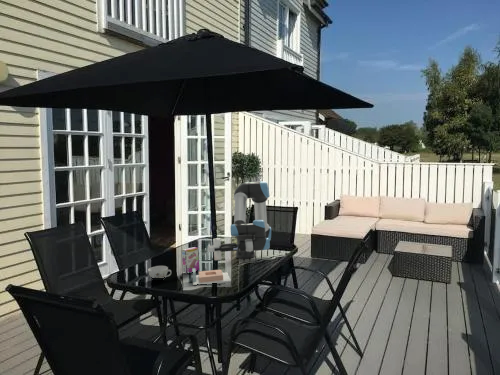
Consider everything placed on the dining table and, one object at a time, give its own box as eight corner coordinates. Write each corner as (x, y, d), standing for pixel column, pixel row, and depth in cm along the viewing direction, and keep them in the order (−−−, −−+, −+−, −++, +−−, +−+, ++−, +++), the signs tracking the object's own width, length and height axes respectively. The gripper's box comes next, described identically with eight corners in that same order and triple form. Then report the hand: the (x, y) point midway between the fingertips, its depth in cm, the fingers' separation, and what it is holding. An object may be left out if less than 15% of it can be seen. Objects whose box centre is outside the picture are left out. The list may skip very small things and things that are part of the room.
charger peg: (214, 258, 270) (212, 238, 269) (221, 258, 271) (219, 237, 270) (214, 260, 266) (213, 239, 265) (221, 259, 266) (220, 239, 265)
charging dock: (192, 277, 278) (191, 266, 277) (227, 273, 281) (226, 263, 280) (193, 285, 258) (192, 274, 257) (230, 282, 261) (230, 270, 261)
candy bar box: (186, 274, 285) (185, 250, 284) (182, 273, 288) (180, 249, 287) (200, 270, 292) (198, 247, 291) (195, 269, 296) (194, 246, 295)
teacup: (145, 283, 269) (144, 270, 269) (152, 277, 282) (151, 265, 281) (168, 282, 267) (167, 270, 267) (174, 277, 280) (173, 265, 279)
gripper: (247, 254, 262) (210, 258, 258) (243, 248, 280) (208, 252, 276) (247, 242, 262) (209, 245, 258) (242, 237, 279) (207, 240, 275)
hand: (208, 249), depth 267 cm, fingers closed on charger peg, 4 cm apart
